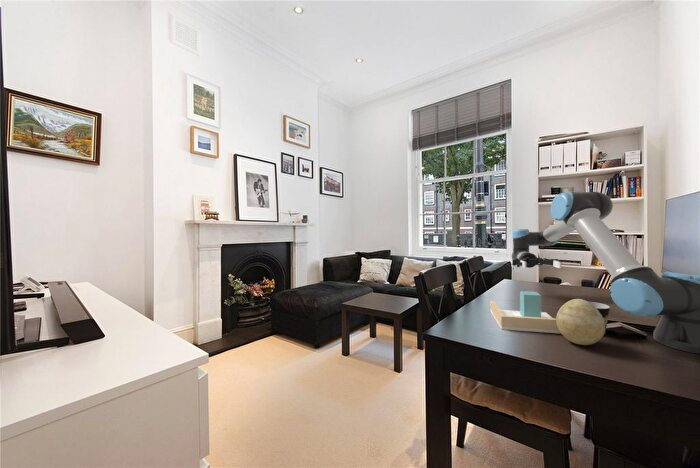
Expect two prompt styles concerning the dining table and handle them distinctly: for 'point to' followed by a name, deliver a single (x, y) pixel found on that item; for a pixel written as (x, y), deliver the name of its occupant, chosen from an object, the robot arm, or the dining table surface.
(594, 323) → the fossilized egg
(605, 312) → the coffee mug
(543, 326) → the tray
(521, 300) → the teal block
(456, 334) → the dining table surface
